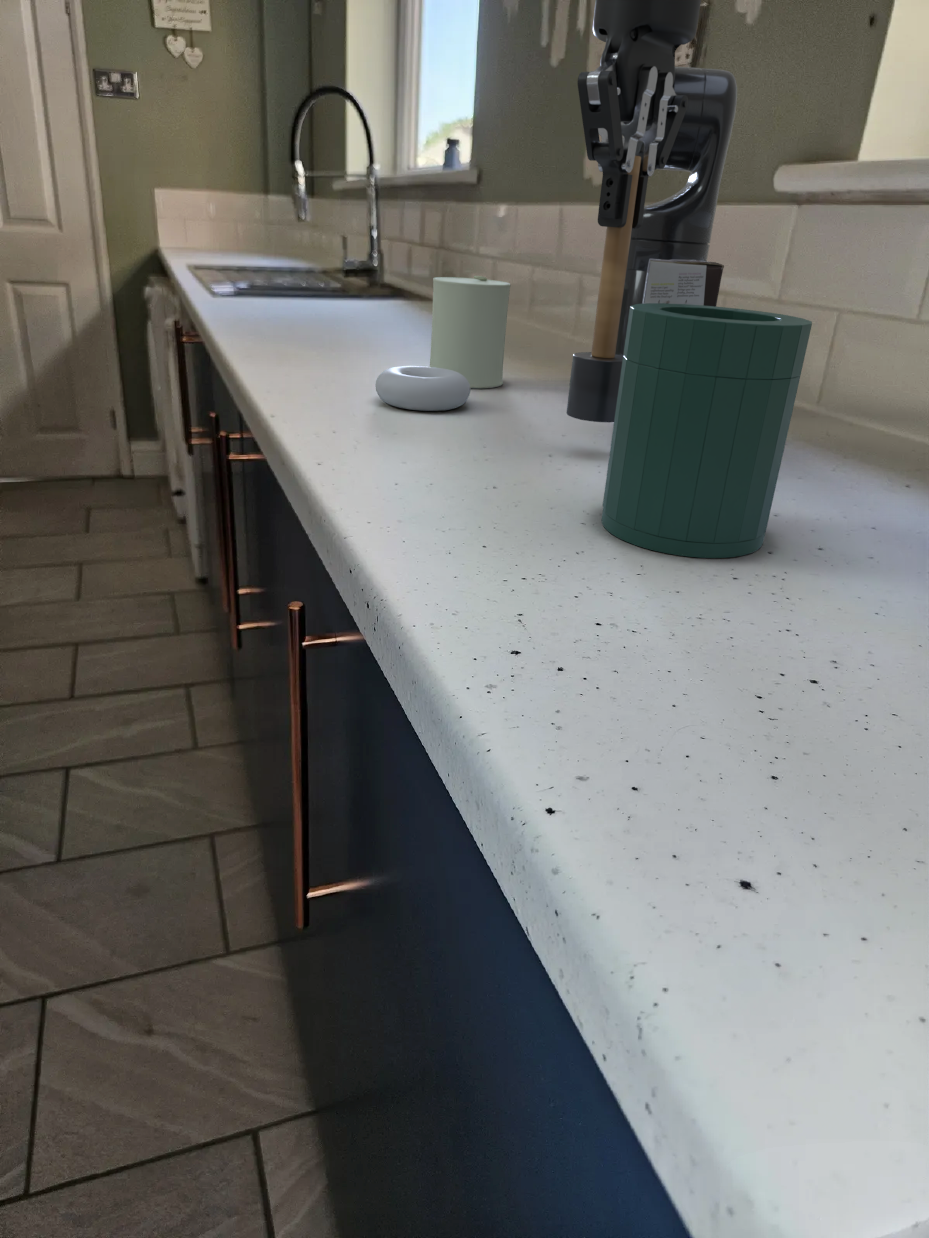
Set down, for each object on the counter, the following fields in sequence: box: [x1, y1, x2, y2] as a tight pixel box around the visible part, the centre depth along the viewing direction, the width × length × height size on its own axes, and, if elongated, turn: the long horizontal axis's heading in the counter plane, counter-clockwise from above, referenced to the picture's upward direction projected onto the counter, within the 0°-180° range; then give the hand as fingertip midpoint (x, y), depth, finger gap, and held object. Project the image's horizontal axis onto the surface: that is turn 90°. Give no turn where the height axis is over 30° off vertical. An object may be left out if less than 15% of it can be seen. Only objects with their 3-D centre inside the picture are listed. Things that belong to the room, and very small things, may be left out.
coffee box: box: [642, 259, 725, 307], centre depth 81 cm, size 9×6×16 cm
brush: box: [566, 156, 641, 423], centre depth 71 cm, size 5×5×20 cm
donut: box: [375, 365, 471, 412], centre depth 91 cm, size 10×4×10 cm
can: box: [429, 275, 512, 389], centre depth 104 cm, size 9×9×12 cm
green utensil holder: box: [601, 303, 813, 559], centre depth 56 cm, size 11×11×14 cm
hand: (619, 226), depth 69 cm, fingers closed on brush
